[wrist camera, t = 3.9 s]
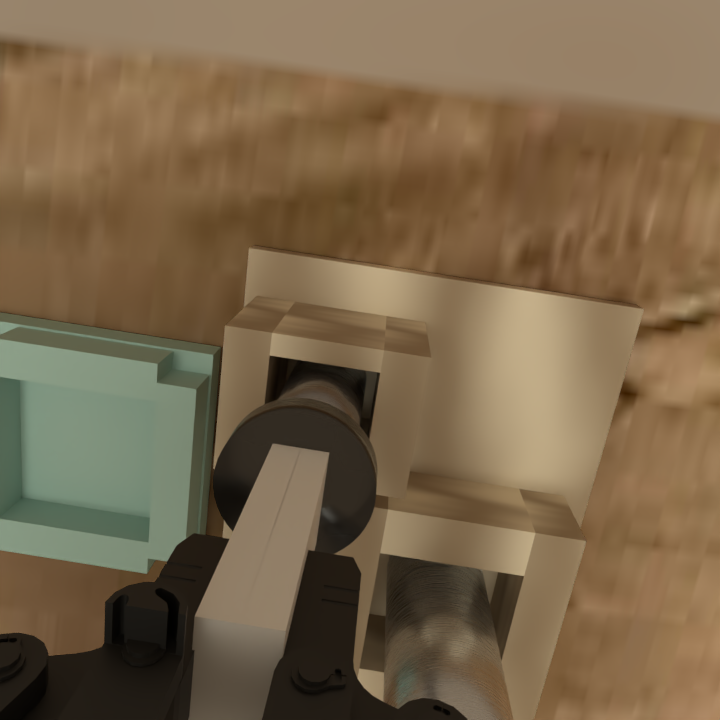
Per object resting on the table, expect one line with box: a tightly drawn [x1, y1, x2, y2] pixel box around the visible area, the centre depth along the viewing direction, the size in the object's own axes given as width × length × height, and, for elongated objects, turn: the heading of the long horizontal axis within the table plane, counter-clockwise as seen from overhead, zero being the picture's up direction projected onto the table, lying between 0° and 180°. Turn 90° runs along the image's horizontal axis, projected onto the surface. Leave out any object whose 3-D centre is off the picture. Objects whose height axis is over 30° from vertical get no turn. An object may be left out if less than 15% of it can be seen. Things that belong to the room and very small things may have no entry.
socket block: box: [213, 245, 644, 720], centre depth 26 cm, size 16×20×6 cm
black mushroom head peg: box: [213, 360, 378, 554], centre depth 21 cm, size 4×4×9 cm
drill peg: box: [383, 555, 513, 720], centre depth 23 cm, size 4×4×14 cm
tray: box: [0, 312, 221, 574], centre depth 28 cm, size 10×10×3 cm
